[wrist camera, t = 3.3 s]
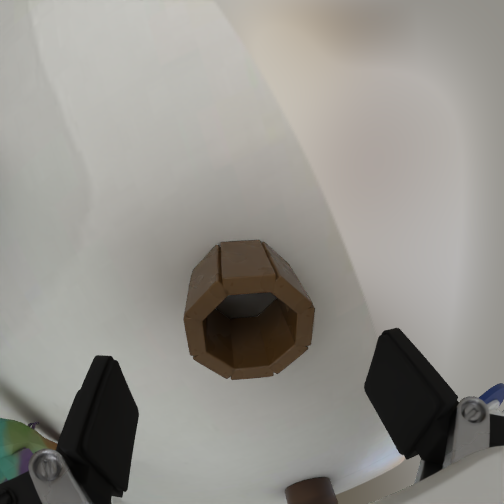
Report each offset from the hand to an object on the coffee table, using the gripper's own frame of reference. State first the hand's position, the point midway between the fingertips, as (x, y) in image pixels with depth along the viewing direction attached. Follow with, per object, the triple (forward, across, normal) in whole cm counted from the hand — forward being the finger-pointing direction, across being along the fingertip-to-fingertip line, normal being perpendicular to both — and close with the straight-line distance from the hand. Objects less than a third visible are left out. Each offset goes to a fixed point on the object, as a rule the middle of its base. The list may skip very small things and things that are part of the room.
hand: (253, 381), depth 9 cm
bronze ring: (+7, 0, 0) cm, 8 cm away
